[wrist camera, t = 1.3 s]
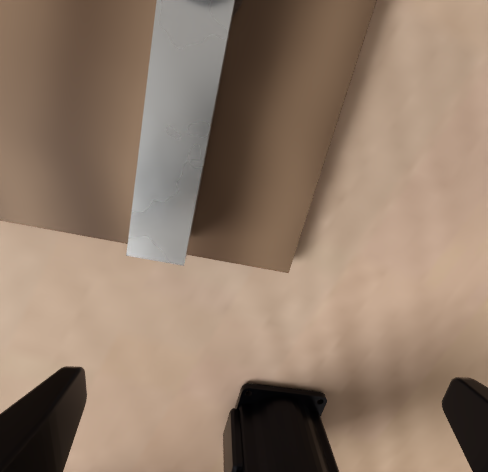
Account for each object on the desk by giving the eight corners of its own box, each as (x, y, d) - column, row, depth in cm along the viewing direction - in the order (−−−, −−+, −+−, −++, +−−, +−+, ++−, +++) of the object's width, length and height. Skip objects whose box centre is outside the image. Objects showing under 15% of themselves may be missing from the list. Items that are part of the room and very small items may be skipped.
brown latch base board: (401, -118, 13) (496, -240, 8) (283, 261, 19) (302, 305, 14) (-233, -383, 9) (-622, -815, 5) (-132, 183, 15) (-269, 209, 11)
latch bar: (176, -80, 11) (157, -166, 8) (254, -53, 12) (268, -123, 8) (136, 229, 16) (113, 261, 12) (195, 240, 16) (189, 274, 13)
